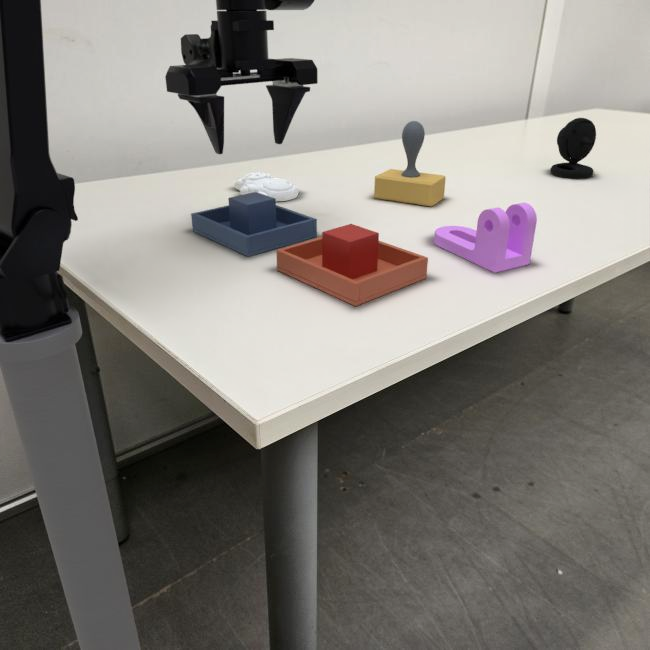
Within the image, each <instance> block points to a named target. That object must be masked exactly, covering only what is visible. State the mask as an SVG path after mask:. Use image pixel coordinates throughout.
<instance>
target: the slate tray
mask: <svg viewBox="0 0 650 650" xmlns="http://www.w3.org/2000/svg"><path fill="white" fill-rule="evenodd" d="M190 218H191V227H192V232H193V233H196V234H198V235H200V236H202V237H205V238H207V239H209V240H211V241H213V242H216V243H218V244H220V245H221V246H224V247H226V248H228V249H230V250H232V251H235V252H237V253H239V254H242V255H244V256H246V257H252V256H255V255H259V254H262V253H265V252H269V251H273V250H277V249H281V248H284V247H288V246H291V245H295V244H298V243H302V242H305V241H309V240H312V239H316V238H318V221H317V220H318V219H317V218H315V217H312V216H309V215H306V214H303V213H300V212H297V211H294V210H292V209H289V208H286V207H284V206H280V205H278V204H276V224H277V228H274V229H271V230H267V231H263V232H259V233H255V234H252V235H246V234H244V233H241V232H239V231H236V230H234V229H232V228H230V214H229V204H228V205H223V206H219V207H215V208H210V209H205V210H200V211H197V212H192V213H190Z"/></svg>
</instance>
